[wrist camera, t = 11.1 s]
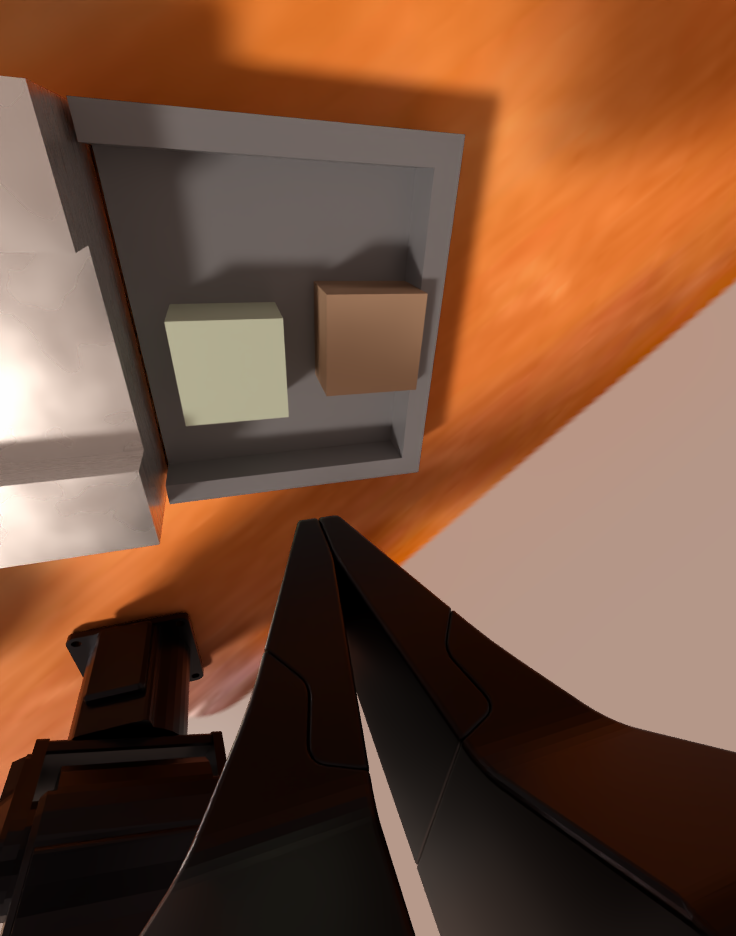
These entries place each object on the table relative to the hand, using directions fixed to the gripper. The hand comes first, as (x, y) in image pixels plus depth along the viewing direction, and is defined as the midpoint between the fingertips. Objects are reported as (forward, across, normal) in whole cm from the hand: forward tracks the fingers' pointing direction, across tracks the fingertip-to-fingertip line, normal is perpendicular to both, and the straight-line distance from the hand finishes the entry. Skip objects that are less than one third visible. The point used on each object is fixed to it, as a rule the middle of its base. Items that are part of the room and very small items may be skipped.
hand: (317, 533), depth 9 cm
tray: (+13, -1, -1) cm, 13 cm away
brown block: (+10, -4, -1) cm, 11 cm away
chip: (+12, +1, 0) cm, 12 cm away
